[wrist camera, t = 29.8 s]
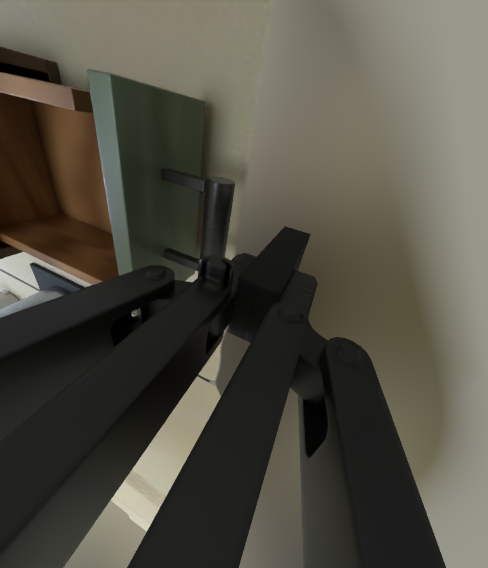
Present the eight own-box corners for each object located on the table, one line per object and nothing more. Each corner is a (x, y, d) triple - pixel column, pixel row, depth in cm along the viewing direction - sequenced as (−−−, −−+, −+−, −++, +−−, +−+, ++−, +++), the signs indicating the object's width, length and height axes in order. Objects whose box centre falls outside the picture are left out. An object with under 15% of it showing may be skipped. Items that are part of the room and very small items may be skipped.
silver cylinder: (51, 275, 32) (-111, 342, 21) (96, 317, 33) (-38, 404, 22) (46, 303, 38) (-86, 369, 26) (85, 340, 38) (-28, 419, 27)
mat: (33, 262, 34) (29, 263, 33) (95, 292, 31) (91, 294, 31) (56, 321, 41) (53, 323, 40) (108, 350, 38) (106, 352, 37)
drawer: (271, 114, 13) (209, 91, 8) (237, 290, 20) (191, 343, 15) (29, 66, 18) (-116, 30, 12) (70, 222, 25) (-11, 243, 19)
